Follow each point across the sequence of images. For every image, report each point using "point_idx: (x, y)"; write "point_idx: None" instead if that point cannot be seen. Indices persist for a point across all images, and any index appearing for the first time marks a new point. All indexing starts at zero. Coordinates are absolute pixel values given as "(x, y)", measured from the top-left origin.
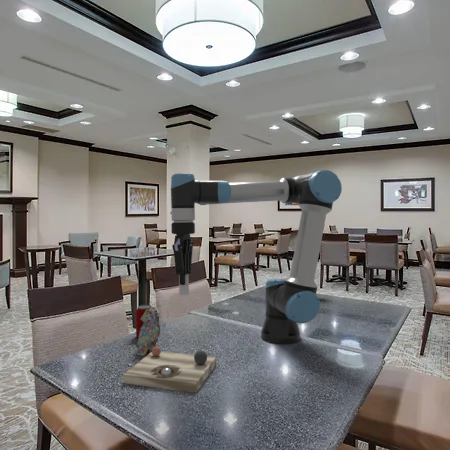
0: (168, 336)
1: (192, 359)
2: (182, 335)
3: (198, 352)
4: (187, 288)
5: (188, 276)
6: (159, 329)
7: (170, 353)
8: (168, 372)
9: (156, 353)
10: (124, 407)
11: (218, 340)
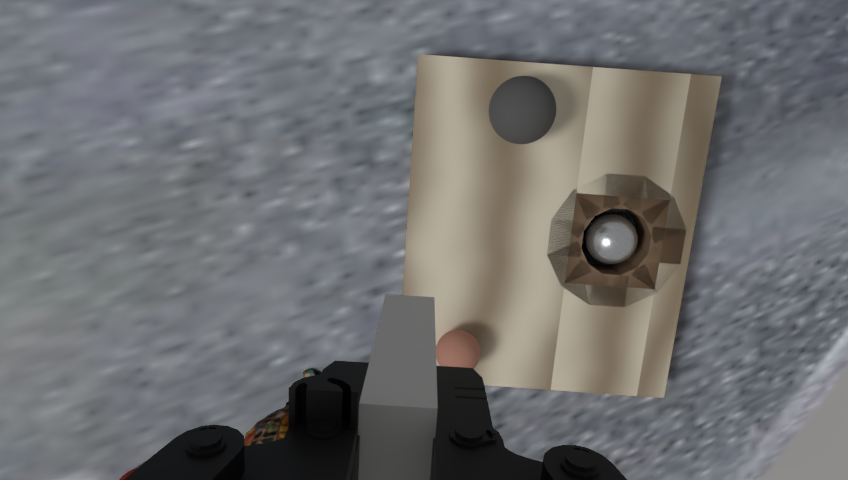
0: (120, 392)
1: (469, 165)
2: (83, 330)
3: (538, 118)
4: (420, 320)
5: (366, 384)
6: (275, 424)
7: (417, 290)
8: (630, 227)
9: (477, 343)
10: (822, 301)
11: (96, 120)
